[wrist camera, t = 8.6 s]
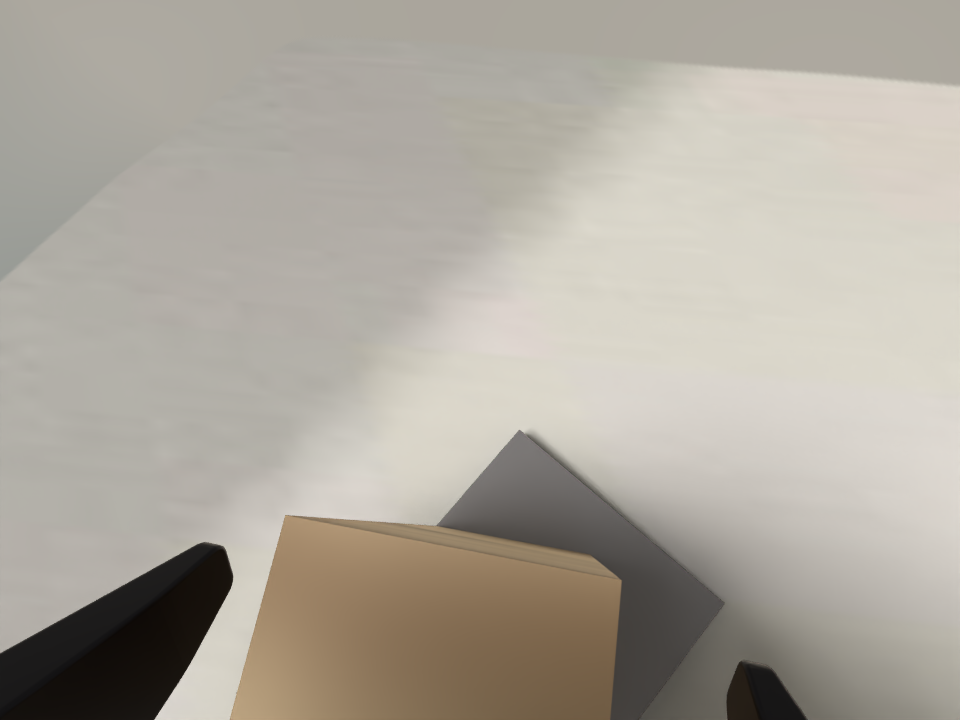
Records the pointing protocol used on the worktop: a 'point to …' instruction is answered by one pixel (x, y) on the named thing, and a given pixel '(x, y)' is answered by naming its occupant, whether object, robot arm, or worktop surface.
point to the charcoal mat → (610, 540)
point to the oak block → (428, 627)
